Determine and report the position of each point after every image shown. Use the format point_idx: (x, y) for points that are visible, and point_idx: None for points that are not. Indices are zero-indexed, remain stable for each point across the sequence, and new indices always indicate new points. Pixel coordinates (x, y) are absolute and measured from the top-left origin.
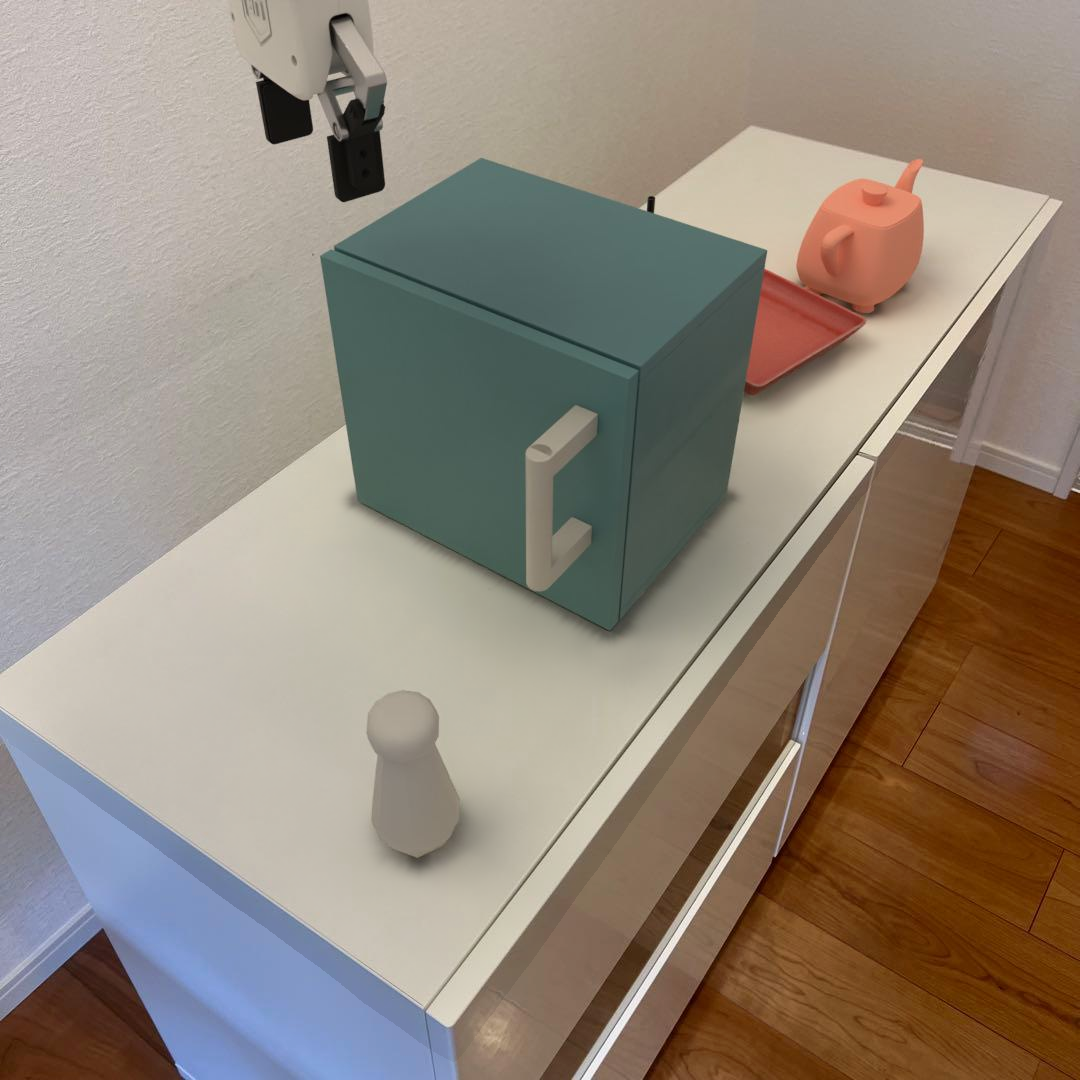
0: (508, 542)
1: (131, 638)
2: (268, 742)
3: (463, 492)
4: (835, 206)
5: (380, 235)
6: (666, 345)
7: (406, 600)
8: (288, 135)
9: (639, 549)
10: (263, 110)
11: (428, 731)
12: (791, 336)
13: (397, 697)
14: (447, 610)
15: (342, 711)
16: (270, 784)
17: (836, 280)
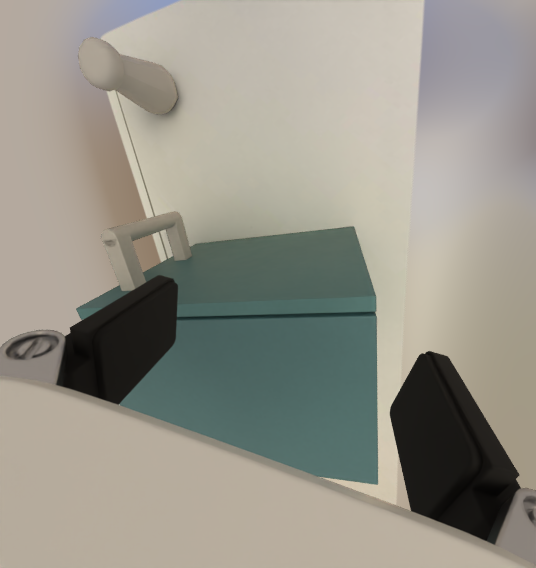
0: (240, 244)
1: (381, 32)
2: (251, 62)
3: (262, 247)
4: None
5: (350, 353)
6: None
7: (275, 191)
8: (409, 382)
9: None
10: (459, 401)
11: (80, 68)
12: None
13: (102, 67)
14: (255, 201)
15: (240, 111)
16: (228, 44)
17: None
